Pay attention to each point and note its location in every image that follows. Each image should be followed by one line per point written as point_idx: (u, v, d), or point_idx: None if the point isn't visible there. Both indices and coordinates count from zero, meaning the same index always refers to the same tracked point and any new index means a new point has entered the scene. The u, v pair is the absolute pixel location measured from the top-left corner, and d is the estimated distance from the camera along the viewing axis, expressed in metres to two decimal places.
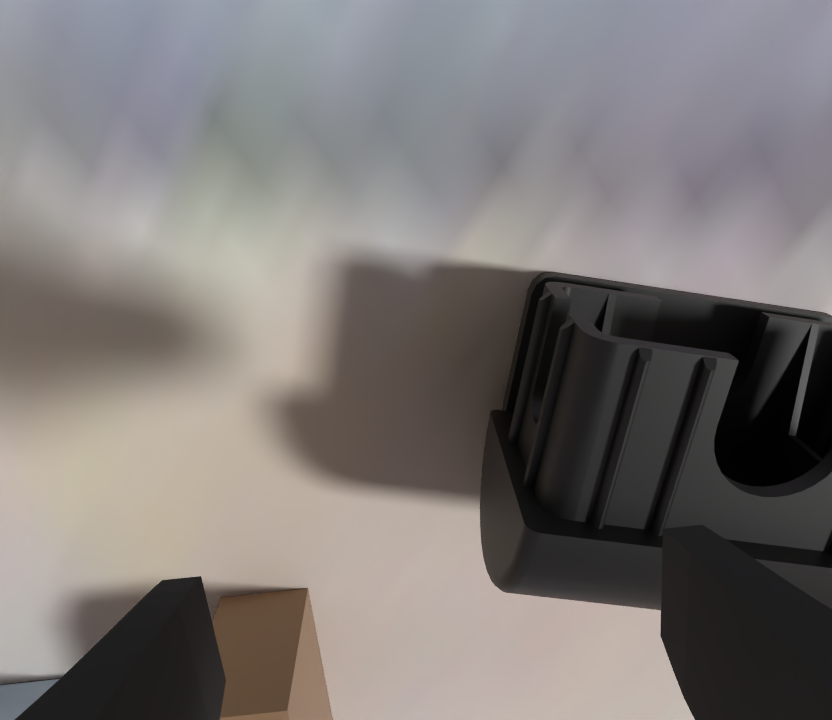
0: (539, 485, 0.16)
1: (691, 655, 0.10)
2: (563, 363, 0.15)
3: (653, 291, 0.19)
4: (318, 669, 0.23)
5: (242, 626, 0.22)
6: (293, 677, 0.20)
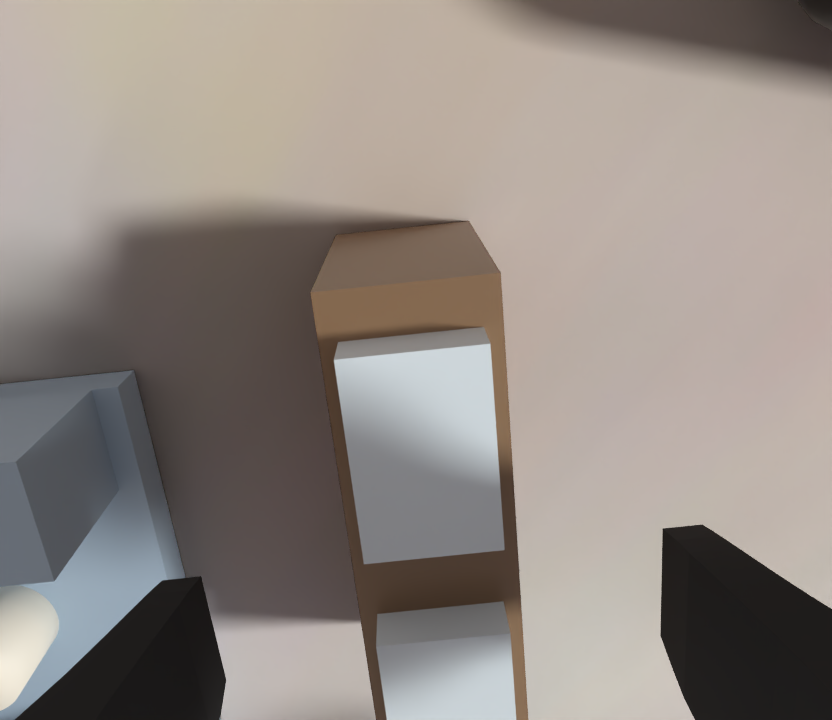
0: None
1: (691, 655, 0.10)
2: None
3: None
4: None
5: (381, 242, 0.14)
6: None
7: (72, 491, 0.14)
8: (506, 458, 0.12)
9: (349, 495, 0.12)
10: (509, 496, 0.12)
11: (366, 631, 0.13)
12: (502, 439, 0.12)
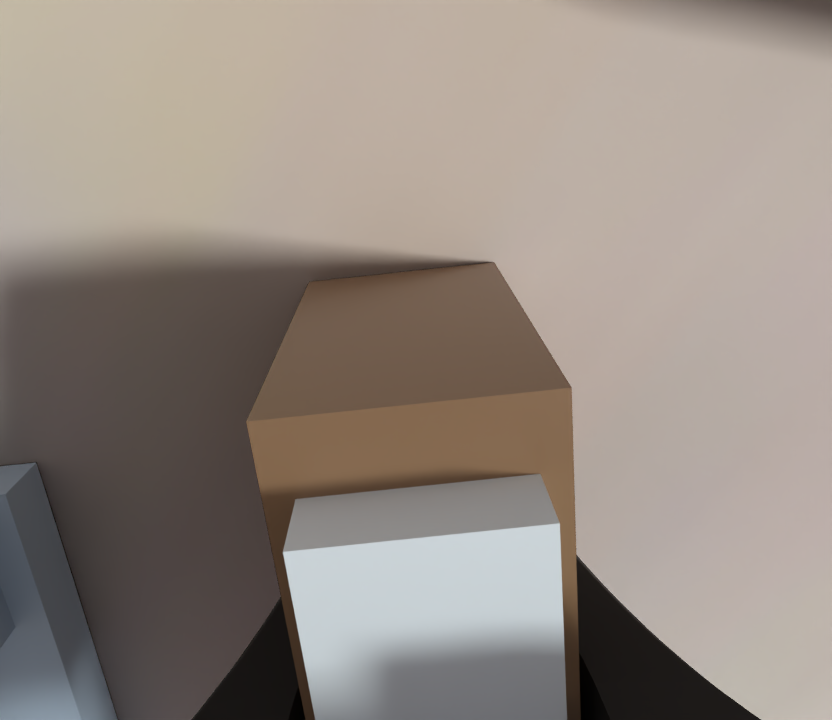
0: None
1: None
2: None
3: None
4: None
5: (371, 303, 0.09)
6: None
7: None
8: (570, 668, 0.07)
9: None
10: None
11: None
12: (564, 641, 0.07)
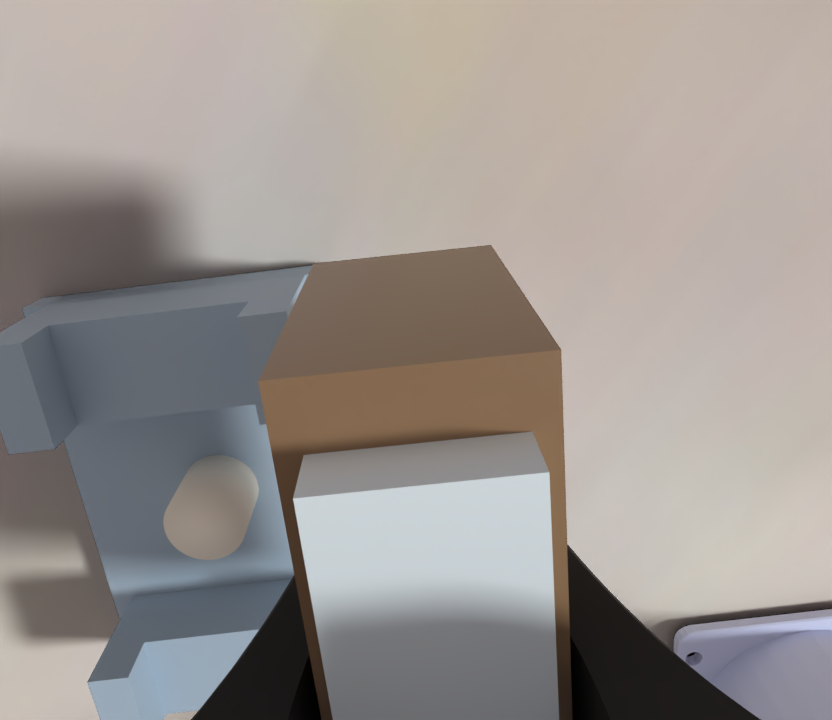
0: None
1: None
2: None
3: None
4: None
5: (373, 281, 0.10)
6: None
7: None
8: (561, 619, 0.08)
9: None
10: (564, 671, 0.08)
11: None
12: (555, 592, 0.08)
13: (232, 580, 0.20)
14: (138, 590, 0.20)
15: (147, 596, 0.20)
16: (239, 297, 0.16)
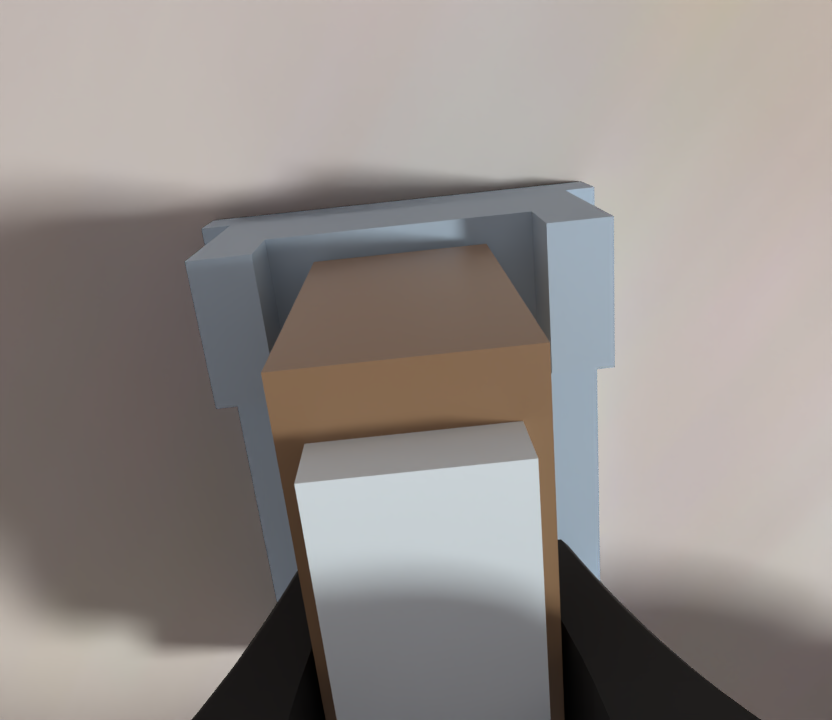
0: None
1: None
2: None
3: None
4: None
5: (372, 279, 0.10)
6: None
7: None
8: (551, 602, 0.08)
9: (324, 654, 0.08)
10: (555, 653, 0.08)
11: None
12: (546, 576, 0.08)
13: None
14: None
15: None
16: (509, 209, 0.12)
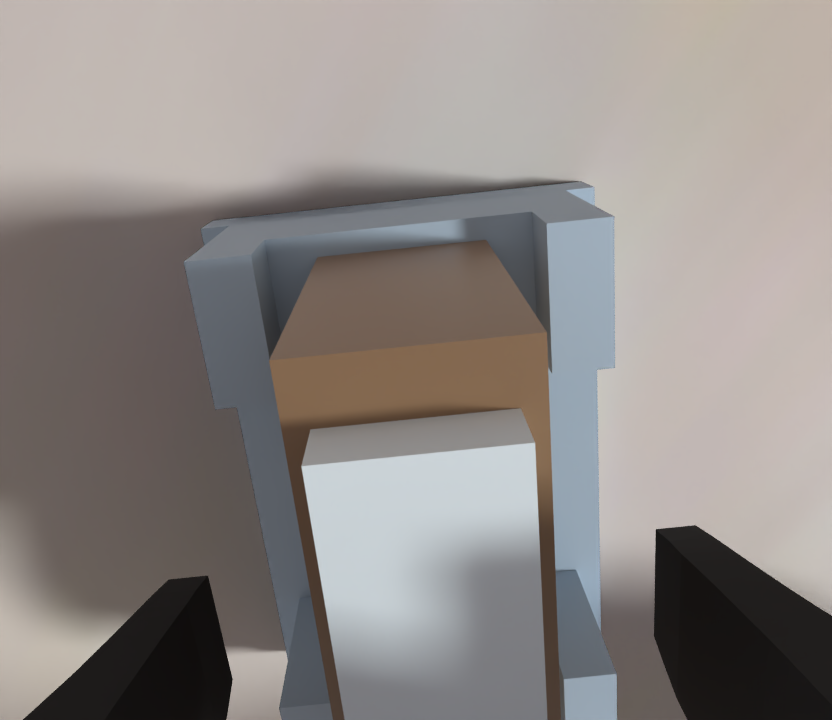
0: None
1: (683, 656, 0.10)
2: None
3: None
4: None
5: (374, 273, 0.10)
6: None
7: None
8: (548, 584, 0.08)
9: (328, 633, 0.08)
10: (551, 634, 0.09)
11: None
12: (543, 559, 0.08)
13: None
14: (308, 590, 0.17)
15: None
16: (509, 209, 0.12)
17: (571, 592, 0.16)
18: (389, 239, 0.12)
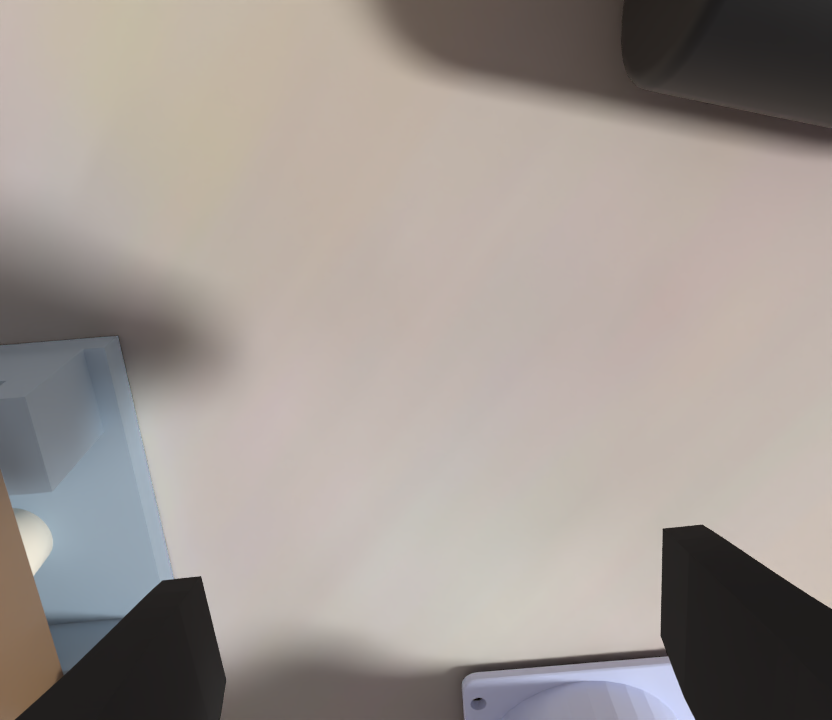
0: None
1: (691, 656, 0.10)
2: None
3: None
4: None
5: None
6: None
7: (67, 426, 0.18)
8: None
9: None
10: None
11: None
12: None
13: None
14: None
15: None
16: (4, 374, 0.17)
17: None
18: None
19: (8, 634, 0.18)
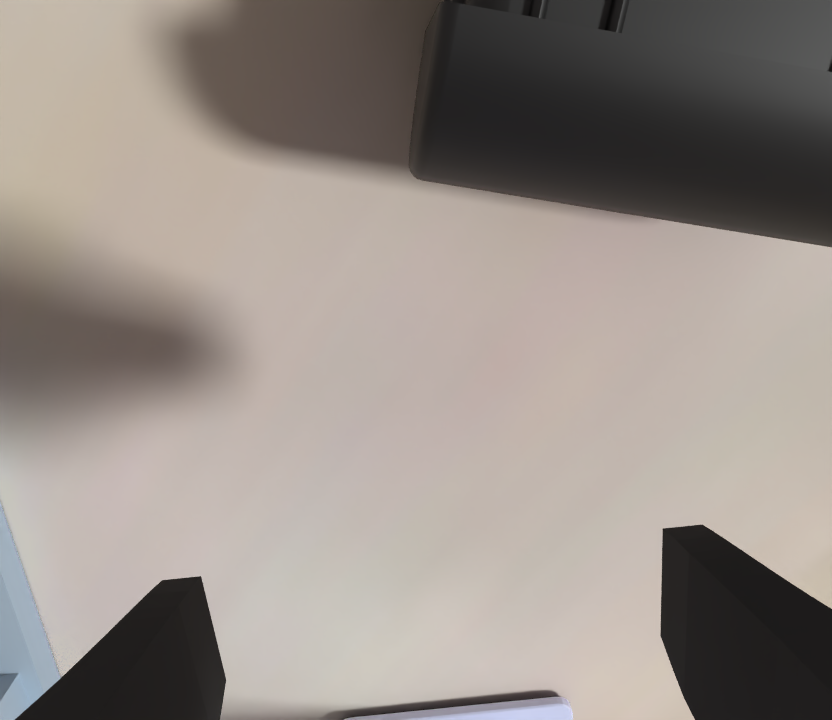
0: None
1: (690, 655, 0.10)
2: None
3: None
4: None
5: None
6: None
7: None
8: None
9: None
10: None
11: None
12: None
13: None
14: None
15: None
16: None
17: None
18: None
19: None
